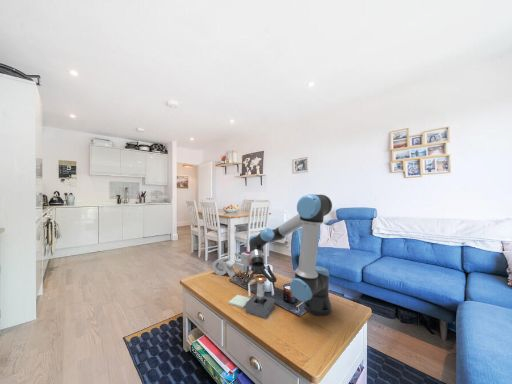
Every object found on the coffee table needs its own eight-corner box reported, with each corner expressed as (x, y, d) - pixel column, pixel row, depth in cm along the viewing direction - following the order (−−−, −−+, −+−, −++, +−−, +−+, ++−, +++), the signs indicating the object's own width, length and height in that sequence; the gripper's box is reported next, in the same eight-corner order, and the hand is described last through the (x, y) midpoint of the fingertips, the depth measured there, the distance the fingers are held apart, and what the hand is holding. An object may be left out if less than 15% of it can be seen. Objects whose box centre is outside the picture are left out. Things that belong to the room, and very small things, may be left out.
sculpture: (234, 277, 165) (239, 260, 164) (230, 281, 159) (235, 262, 158) (215, 268, 171) (219, 251, 170) (210, 271, 165) (215, 253, 164)
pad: (251, 300, 126) (251, 298, 126) (243, 308, 117) (243, 306, 117) (237, 296, 131) (237, 294, 131) (228, 303, 122) (228, 302, 122)
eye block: (274, 307, 119) (274, 298, 119) (265, 318, 108) (266, 309, 108) (255, 302, 124) (255, 293, 124) (245, 312, 113) (245, 303, 113)
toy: (248, 282, 151) (249, 254, 151) (232, 275, 162) (232, 249, 162) (257, 277, 159) (257, 251, 159) (240, 272, 170) (241, 247, 170)
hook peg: (267, 308, 117) (268, 276, 117) (263, 314, 112) (263, 280, 112) (257, 305, 120) (258, 274, 120) (252, 311, 114) (253, 278, 114)
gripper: (275, 261, 133) (281, 296, 118) (236, 262, 129) (238, 299, 114) (277, 255, 128) (284, 291, 113) (237, 256, 124) (239, 294, 109)
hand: (261, 295), depth 113 cm, fingers open, 12 cm apart
